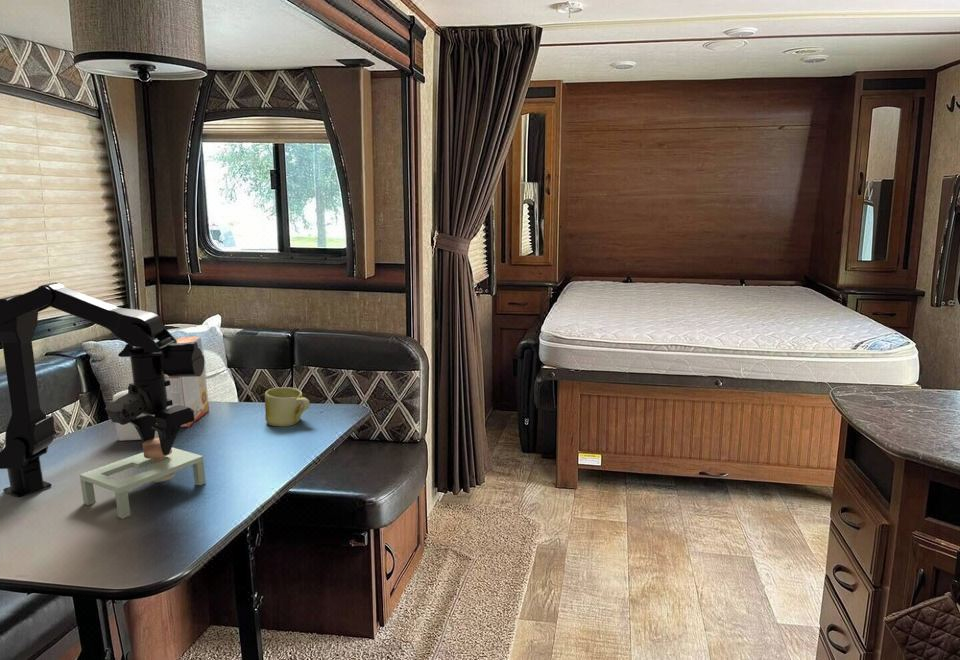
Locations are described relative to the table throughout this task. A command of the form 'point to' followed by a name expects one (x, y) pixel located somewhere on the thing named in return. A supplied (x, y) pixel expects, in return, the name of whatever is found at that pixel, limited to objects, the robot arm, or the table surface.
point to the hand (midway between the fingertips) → (157, 452)
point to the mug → (284, 406)
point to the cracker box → (189, 389)
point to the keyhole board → (138, 475)
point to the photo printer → (127, 425)
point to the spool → (156, 455)
